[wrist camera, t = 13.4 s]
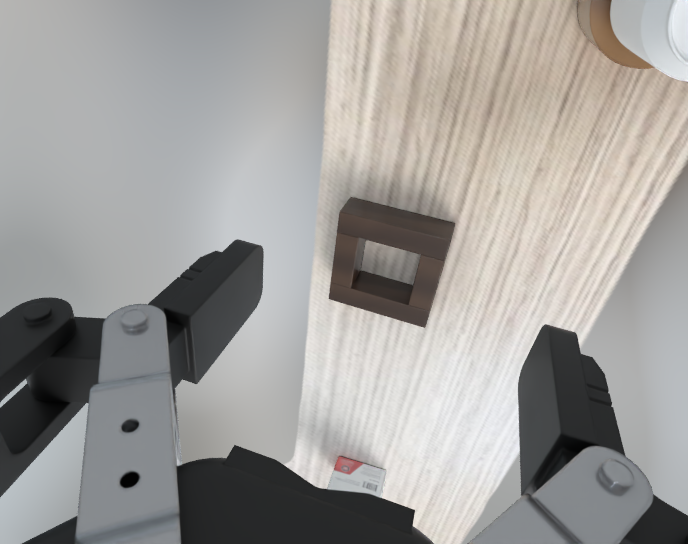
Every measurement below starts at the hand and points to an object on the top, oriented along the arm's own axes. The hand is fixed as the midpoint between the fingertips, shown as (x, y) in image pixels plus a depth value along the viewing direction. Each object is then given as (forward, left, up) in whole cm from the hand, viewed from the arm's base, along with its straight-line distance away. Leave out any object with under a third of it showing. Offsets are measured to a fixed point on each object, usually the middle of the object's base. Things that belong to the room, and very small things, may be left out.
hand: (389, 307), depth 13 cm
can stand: (+20, +1, -35) cm, 40 cm away
